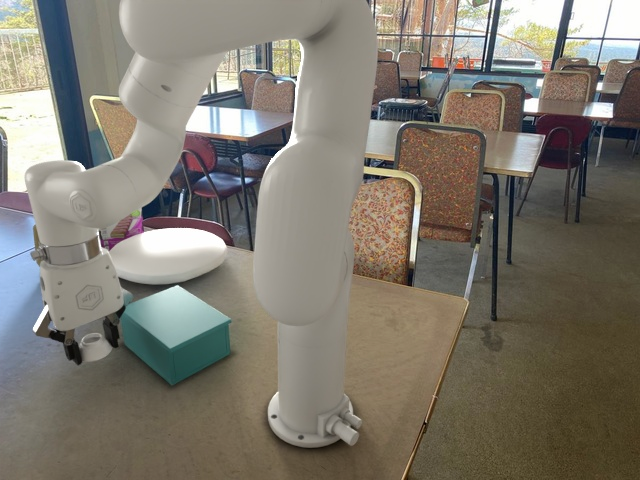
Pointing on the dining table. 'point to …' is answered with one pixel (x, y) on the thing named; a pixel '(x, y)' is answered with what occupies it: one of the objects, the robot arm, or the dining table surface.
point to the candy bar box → (121, 230)
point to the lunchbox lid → (175, 317)
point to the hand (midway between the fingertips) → (94, 351)
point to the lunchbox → (176, 352)
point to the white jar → (94, 347)
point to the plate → (167, 255)
